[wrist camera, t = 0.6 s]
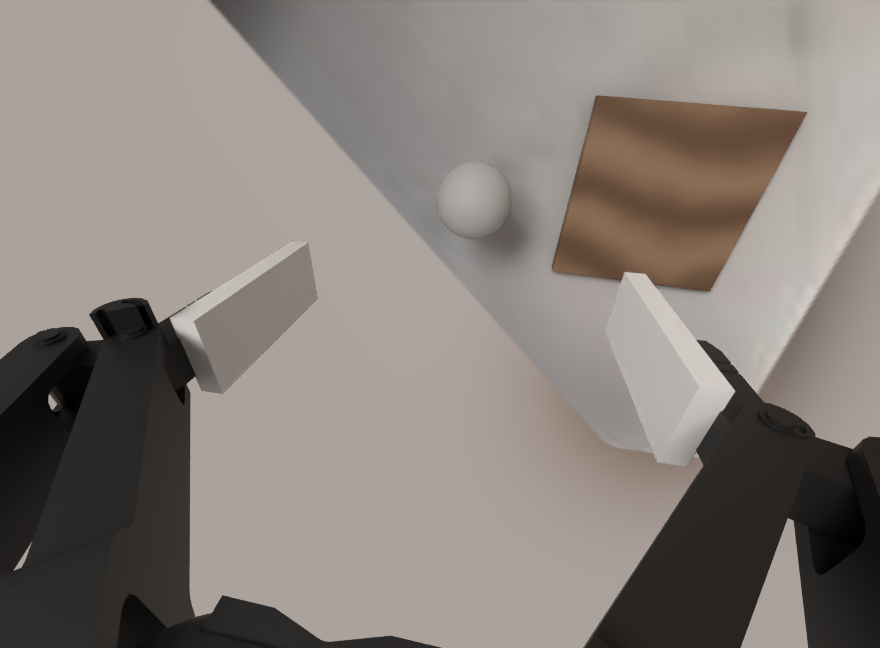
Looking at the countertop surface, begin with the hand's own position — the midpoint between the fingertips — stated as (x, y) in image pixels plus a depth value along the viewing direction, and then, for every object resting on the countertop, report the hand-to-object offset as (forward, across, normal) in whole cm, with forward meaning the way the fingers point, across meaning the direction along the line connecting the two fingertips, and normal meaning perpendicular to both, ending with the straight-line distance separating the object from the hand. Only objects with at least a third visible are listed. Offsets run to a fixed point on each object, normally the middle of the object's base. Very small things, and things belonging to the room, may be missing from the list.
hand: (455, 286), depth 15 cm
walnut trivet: (+25, +16, -1) cm, 30 cm away
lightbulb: (+25, -1, 0) cm, 25 cm away
